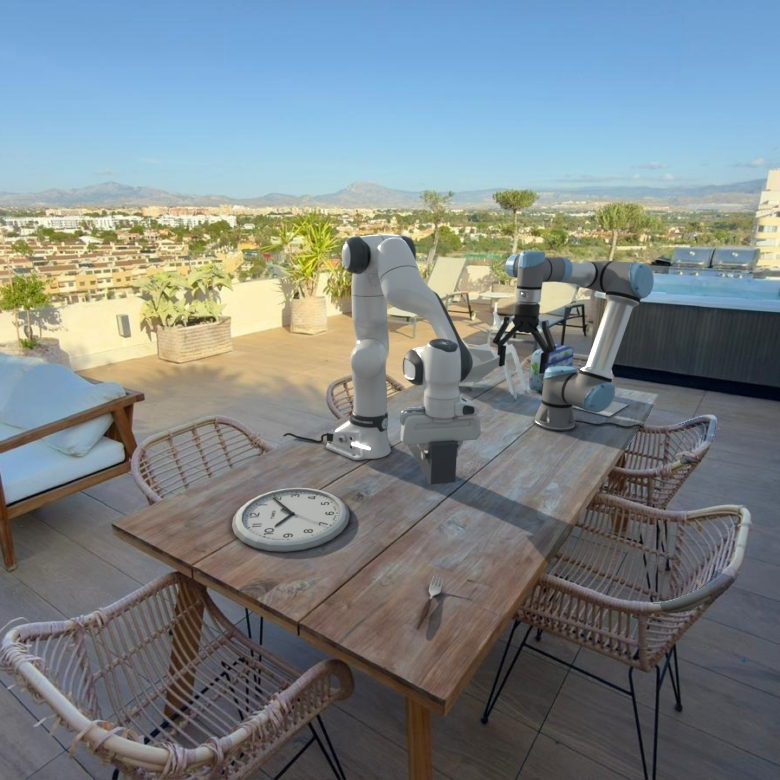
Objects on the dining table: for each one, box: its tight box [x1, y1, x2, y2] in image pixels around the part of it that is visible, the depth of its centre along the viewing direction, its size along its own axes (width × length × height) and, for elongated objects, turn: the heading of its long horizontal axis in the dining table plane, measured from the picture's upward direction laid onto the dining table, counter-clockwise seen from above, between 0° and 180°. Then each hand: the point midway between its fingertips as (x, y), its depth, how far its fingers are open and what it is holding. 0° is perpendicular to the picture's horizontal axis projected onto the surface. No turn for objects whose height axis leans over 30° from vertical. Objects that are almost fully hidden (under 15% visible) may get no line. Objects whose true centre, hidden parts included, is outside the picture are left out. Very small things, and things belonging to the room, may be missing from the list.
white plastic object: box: [459, 310, 531, 400], centre depth 245 cm, size 37×45×31 cm
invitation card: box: [573, 400, 629, 418], centre depth 226 cm, size 21×1×15 cm
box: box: [407, 440, 458, 485], centre depth 141 cm, size 25×6×11 cm, turn 12°
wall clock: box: [231, 487, 351, 553], centre depth 136 cm, size 30×2×30 cm
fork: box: [416, 572, 445, 631], centre depth 105 cm, size 3×16×2 cm, turn 160°
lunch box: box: [528, 344, 574, 393], centre depth 247 cm, size 26×11×21 cm, turn 134°
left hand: (439, 457), depth 133 cm, fingers closed on box, 6 cm apart
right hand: (521, 369), depth 167 cm, fingers open, 13 cm apart
